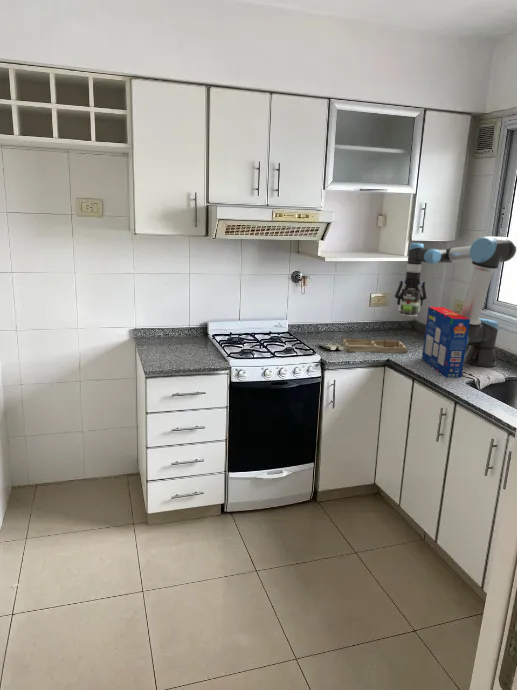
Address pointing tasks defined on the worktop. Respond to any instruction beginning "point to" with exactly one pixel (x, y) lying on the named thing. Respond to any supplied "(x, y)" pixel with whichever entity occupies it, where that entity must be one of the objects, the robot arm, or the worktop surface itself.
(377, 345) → the wooden organizer
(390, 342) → the walnut cube
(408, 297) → the coffee can
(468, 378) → the worktop surface
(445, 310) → the blue cardboard box
